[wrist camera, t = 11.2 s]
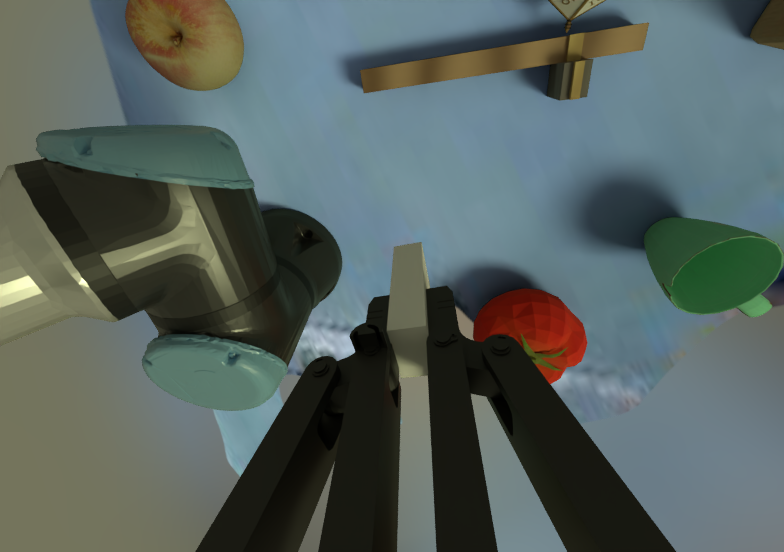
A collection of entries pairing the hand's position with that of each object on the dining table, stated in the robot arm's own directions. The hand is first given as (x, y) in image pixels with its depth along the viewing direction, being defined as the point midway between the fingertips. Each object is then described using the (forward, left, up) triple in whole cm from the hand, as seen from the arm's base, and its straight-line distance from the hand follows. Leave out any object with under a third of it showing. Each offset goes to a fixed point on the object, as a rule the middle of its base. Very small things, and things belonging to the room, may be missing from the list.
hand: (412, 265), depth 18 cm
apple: (-20, +14, -25) cm, 35 cm away
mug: (+32, -15, -25) cm, 44 cm away
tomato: (+13, -26, -25) cm, 39 cm away
